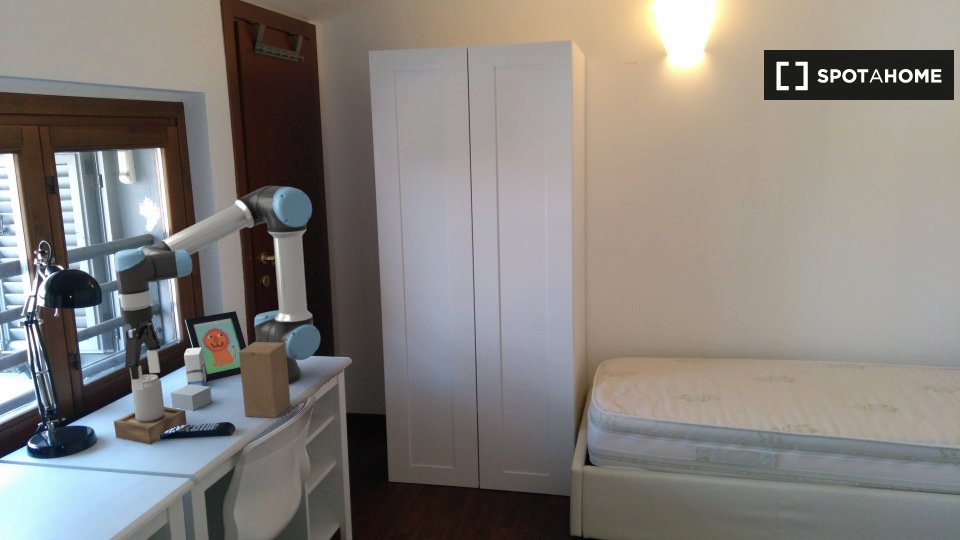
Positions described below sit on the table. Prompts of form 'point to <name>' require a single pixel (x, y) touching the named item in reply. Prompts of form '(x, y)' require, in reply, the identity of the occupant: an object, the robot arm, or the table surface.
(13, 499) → the table surface
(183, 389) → the slate painted block
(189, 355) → the ink box
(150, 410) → the can
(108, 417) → the table surface
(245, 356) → the wooden block
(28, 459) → the table surface
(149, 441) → the walnut base block
